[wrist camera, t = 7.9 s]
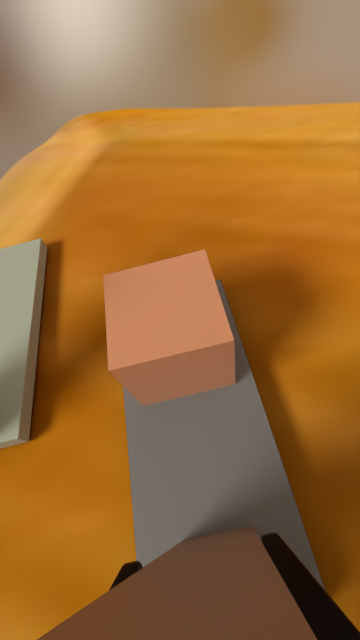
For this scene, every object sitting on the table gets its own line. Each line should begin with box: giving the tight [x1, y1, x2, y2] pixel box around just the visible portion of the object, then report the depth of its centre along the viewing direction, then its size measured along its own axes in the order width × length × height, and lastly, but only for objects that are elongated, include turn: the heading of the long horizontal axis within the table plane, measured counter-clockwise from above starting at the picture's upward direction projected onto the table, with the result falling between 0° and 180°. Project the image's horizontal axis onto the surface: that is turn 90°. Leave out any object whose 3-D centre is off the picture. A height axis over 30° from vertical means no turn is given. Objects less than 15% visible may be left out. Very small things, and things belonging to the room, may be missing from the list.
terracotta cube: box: [103, 249, 236, 406], centre depth 15 cm, size 5×5×5 cm
